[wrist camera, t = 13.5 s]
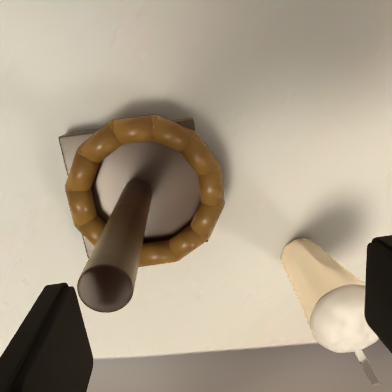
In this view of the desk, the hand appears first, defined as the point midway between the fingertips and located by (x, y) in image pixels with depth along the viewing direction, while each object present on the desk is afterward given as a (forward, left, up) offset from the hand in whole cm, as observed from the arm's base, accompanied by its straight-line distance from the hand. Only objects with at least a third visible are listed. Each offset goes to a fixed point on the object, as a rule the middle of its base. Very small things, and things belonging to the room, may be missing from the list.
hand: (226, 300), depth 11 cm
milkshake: (+8, -8, -15) cm, 19 cm away
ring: (-3, 0, -13) cm, 13 cm away
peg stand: (-4, 0, -15) cm, 16 cm away
